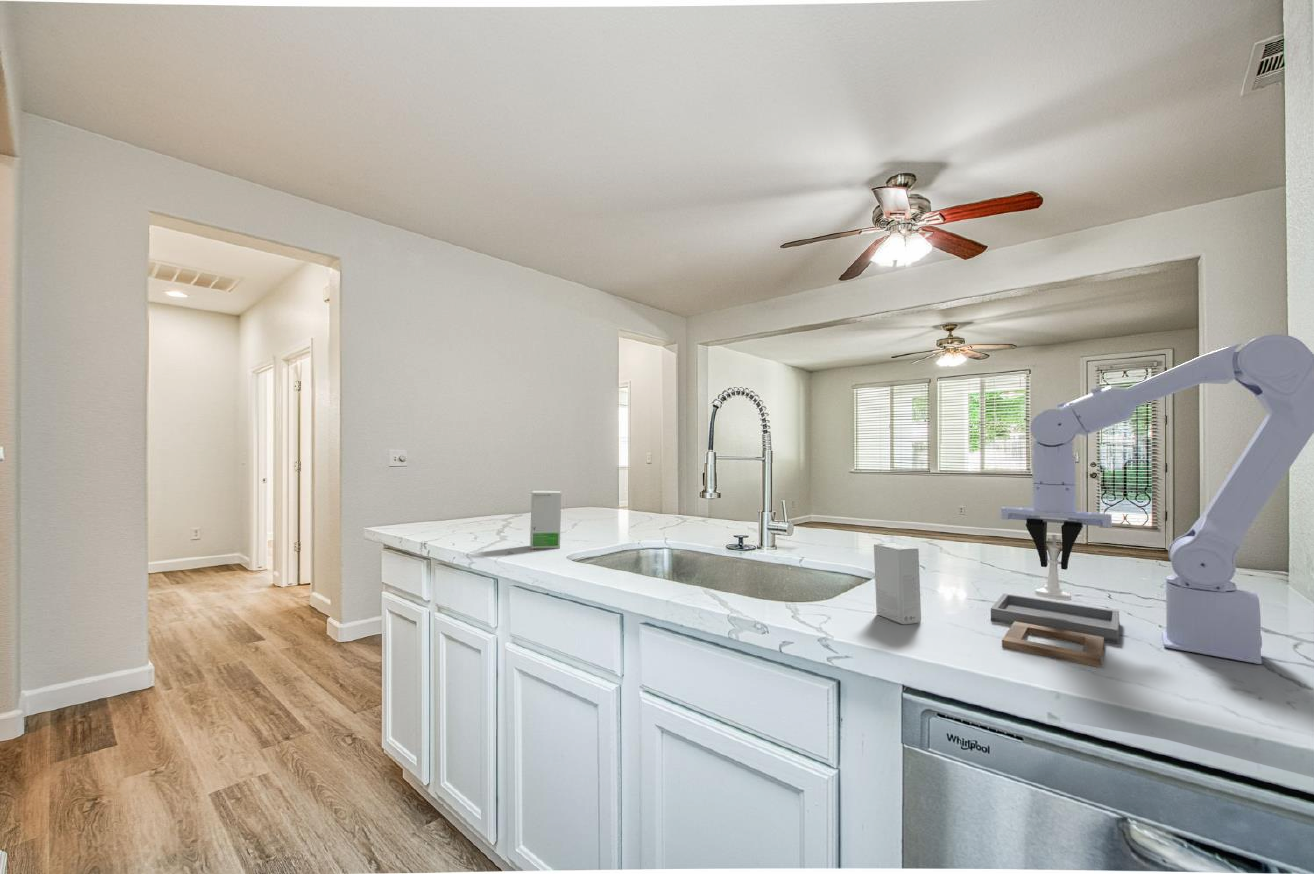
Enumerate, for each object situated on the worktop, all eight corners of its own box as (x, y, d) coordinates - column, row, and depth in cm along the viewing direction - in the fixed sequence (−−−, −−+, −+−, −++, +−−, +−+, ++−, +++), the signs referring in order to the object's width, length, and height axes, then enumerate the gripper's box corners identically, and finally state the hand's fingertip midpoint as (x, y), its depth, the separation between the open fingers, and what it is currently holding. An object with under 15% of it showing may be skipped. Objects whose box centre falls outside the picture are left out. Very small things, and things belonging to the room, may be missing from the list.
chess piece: (1075, 602, 86) (1077, 537, 87) (1038, 597, 88) (1040, 533, 89) (1066, 597, 90) (1068, 535, 91) (1031, 592, 92) (1033, 532, 93)
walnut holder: (1104, 644, 80) (1103, 637, 80) (1100, 667, 72) (1100, 659, 72) (1014, 627, 87) (1014, 621, 87) (1001, 646, 79) (1001, 639, 79)
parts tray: (1119, 623, 89) (1119, 611, 89) (1117, 643, 80) (1117, 630, 80) (1003, 604, 100) (1003, 593, 100) (990, 620, 90) (990, 608, 90)
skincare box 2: (922, 622, 89) (922, 547, 90) (900, 625, 88) (900, 549, 88) (894, 611, 95) (893, 541, 95) (873, 614, 94) (872, 543, 94)
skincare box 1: (530, 549, 150) (530, 492, 150) (530, 545, 157) (530, 490, 157) (561, 548, 152) (561, 491, 152) (559, 544, 159) (560, 489, 159)
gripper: (997, 482, 92) (998, 564, 92) (1110, 487, 82) (1111, 578, 82) (1005, 480, 97) (1005, 558, 97) (1111, 485, 88) (1112, 570, 87)
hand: (1054, 567), depth 90 cm, fingers closed on chess piece
